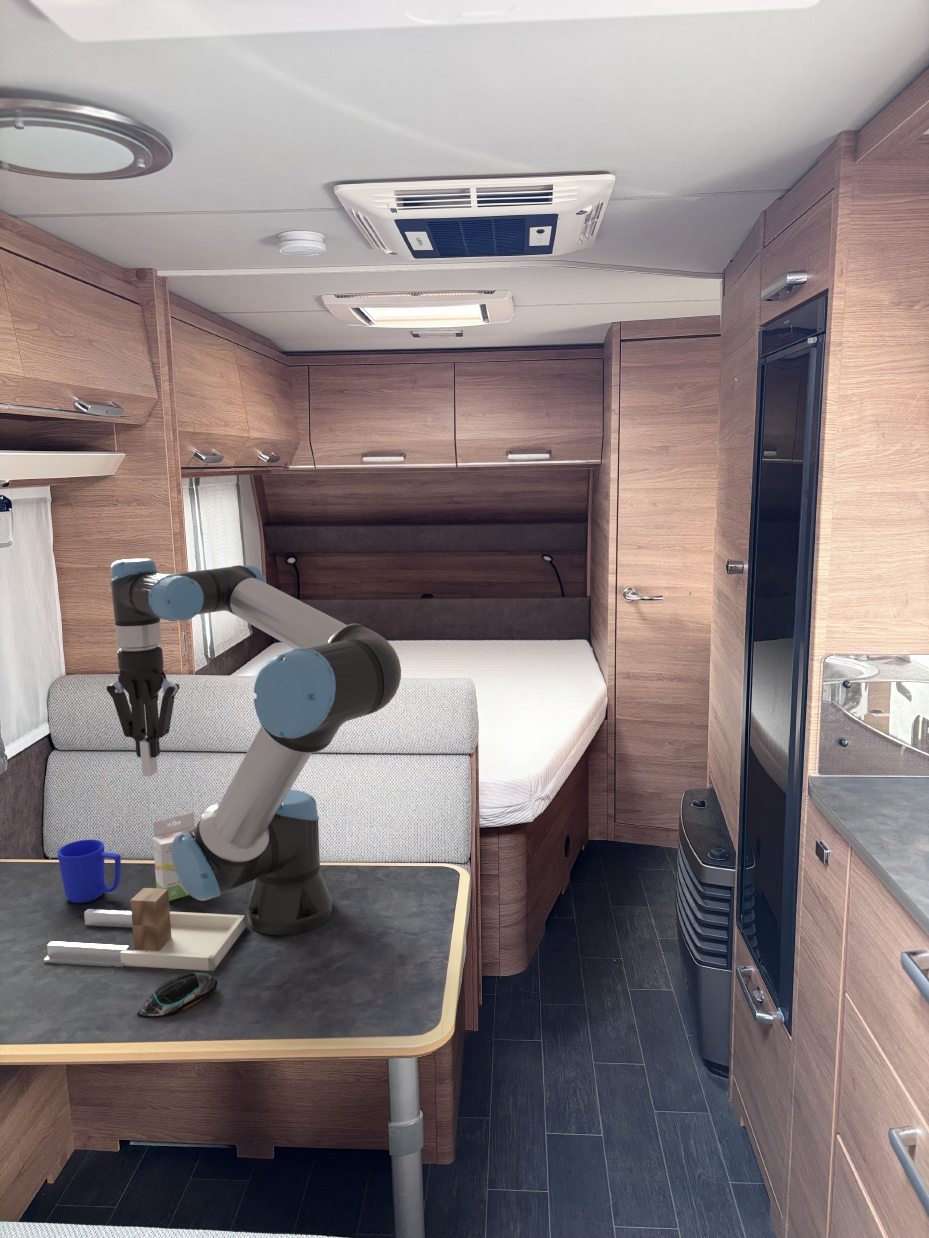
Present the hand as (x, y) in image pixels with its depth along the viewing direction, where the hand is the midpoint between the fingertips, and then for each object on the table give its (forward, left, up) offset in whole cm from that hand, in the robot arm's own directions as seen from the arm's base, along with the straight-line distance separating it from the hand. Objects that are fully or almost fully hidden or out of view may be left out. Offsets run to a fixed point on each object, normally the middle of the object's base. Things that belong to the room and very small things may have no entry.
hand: (150, 773), depth 161 cm
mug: (+15, -3, -27) cm, 31 cm away
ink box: (-1, -7, -27) cm, 28 cm away
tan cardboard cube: (-2, +12, -24) cm, 27 cm away
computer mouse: (-17, +28, -27) cm, 42 cm away
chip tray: (-10, +12, -26) cm, 31 cm away
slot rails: (+4, +12, -26) cm, 29 cm away
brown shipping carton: (-2, +12, -20) cm, 23 cm away
